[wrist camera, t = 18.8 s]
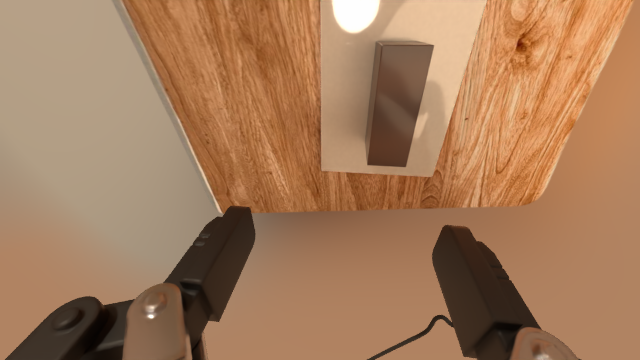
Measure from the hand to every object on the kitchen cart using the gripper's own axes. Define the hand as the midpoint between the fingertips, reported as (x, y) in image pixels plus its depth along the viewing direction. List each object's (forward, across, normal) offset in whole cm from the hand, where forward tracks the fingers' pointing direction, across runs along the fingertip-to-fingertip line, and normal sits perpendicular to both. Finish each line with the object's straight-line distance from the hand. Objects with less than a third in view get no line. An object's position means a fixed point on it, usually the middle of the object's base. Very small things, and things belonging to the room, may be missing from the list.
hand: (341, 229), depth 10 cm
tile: (+22, -4, 0) cm, 22 cm away
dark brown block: (+20, -4, 0) cm, 21 cm away
